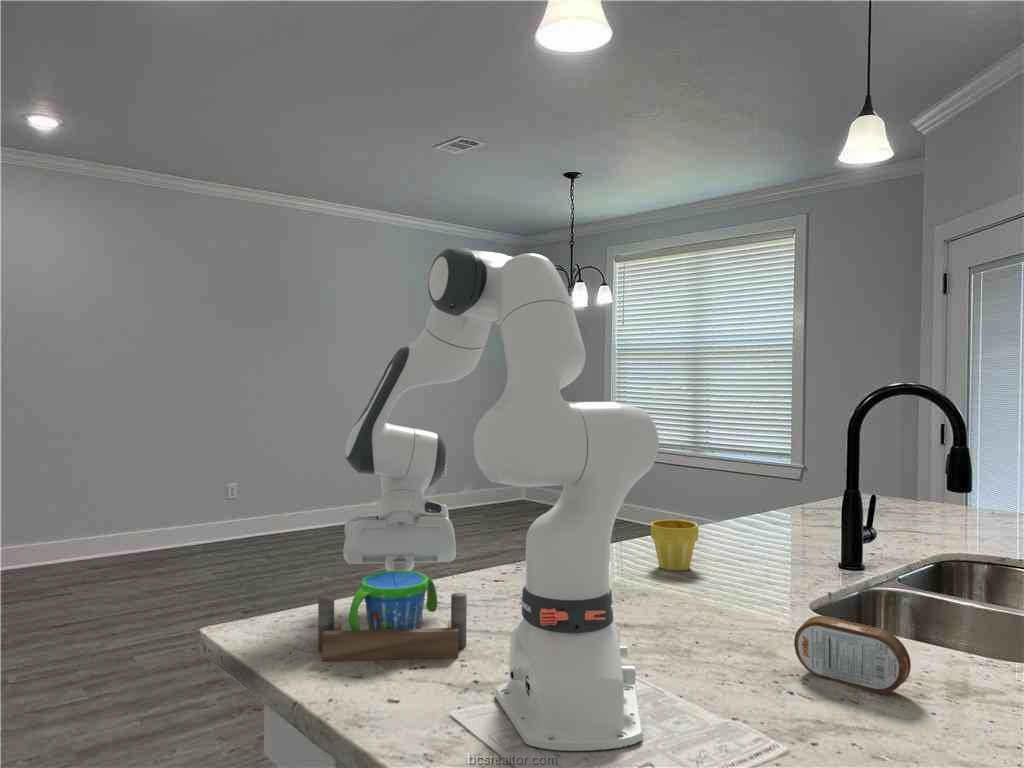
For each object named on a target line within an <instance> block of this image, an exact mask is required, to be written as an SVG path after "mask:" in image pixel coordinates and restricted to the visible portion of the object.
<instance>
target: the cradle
mask: <svg viewBox="0 0 1024 768" xmlns="http://www.w3.org/2000/svg"><path fill="white" fill-rule="evenodd" d="M450 596H451V598H450V599H451V600H450V602H451V603H450V606H451V607H450V619H449V620H447V627H438V628H437V627H432V628H431V627H430V628H420V629H385V630H369V629H360V630H342V622H335V596H334V595H327V594H324V595H321V596H320V595H319V596H318V598H317V599H318V600H317V603H318V605H317V608H318V610H317V611H318V613H317V615H318V616H317V623H318V626H317V650H318V651H319V652H320V651H321V652H322V662H339V661H340V662H342V661H344V662H346V661H348V662H349V661H350V662H351V661H376V660H377V661H378V660H379V661H381V660H415V659H417V660H418V659H419V660H420V659H421V660H422V659H450V658H451V659H454V658H455V659H456V658H457V659H458V658H459V649H463V648H466V647H467V613H468V612H467V611H468V610H467V606H468V605H467V599H468V598H467V593H464V592H454V593H452V594H451V595H450Z"/></svg>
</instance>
